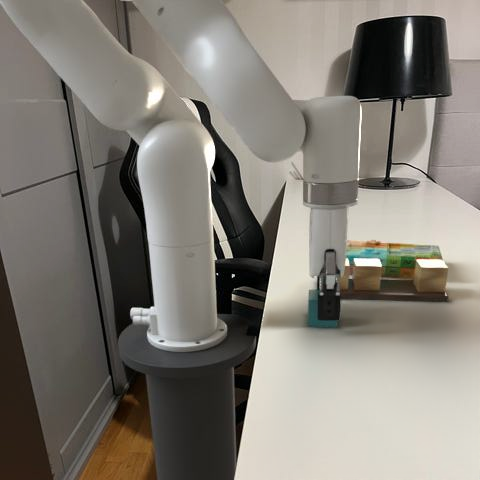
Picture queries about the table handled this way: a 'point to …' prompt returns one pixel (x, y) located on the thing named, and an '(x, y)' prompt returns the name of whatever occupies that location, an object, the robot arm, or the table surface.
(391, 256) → the puzzle game
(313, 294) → the teal block
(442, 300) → the walnut board
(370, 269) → the maple block
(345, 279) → the maple block
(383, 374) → the table surface
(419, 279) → the maple block
